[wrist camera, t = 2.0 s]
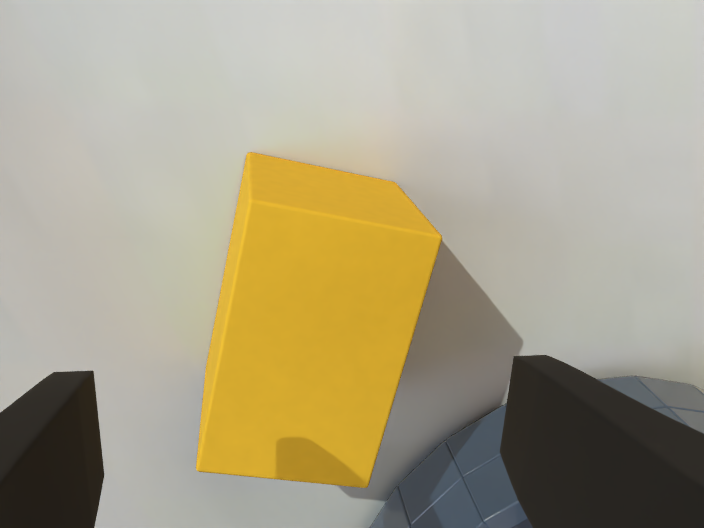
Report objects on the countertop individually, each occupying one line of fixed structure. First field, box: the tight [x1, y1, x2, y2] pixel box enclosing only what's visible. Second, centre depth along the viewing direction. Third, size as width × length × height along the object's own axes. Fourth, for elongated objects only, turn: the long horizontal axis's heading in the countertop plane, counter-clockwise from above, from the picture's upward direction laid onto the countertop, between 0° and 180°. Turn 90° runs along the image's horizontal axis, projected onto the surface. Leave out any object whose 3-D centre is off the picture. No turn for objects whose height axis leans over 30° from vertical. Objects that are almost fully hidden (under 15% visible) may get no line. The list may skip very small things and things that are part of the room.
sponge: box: [196, 152, 442, 488], centre depth 18 cm, size 4×7×5 cm, turn 167°
